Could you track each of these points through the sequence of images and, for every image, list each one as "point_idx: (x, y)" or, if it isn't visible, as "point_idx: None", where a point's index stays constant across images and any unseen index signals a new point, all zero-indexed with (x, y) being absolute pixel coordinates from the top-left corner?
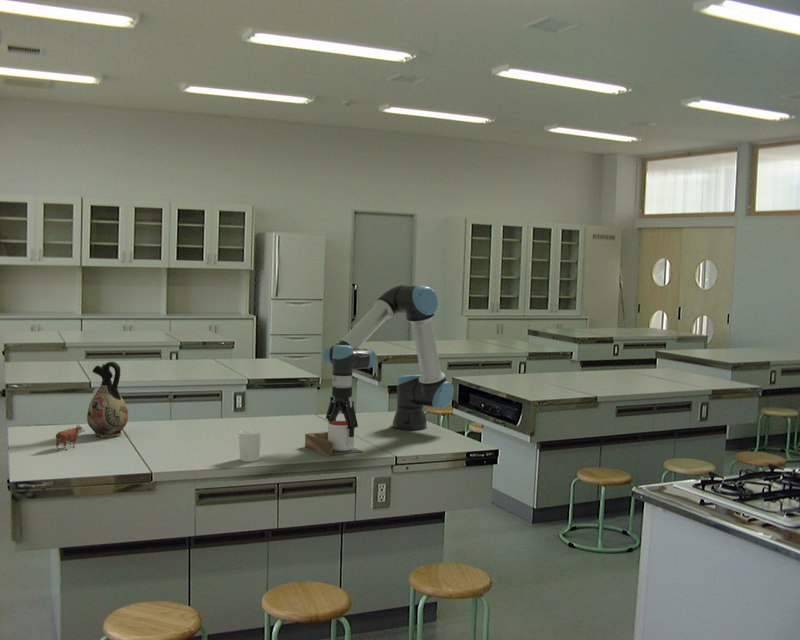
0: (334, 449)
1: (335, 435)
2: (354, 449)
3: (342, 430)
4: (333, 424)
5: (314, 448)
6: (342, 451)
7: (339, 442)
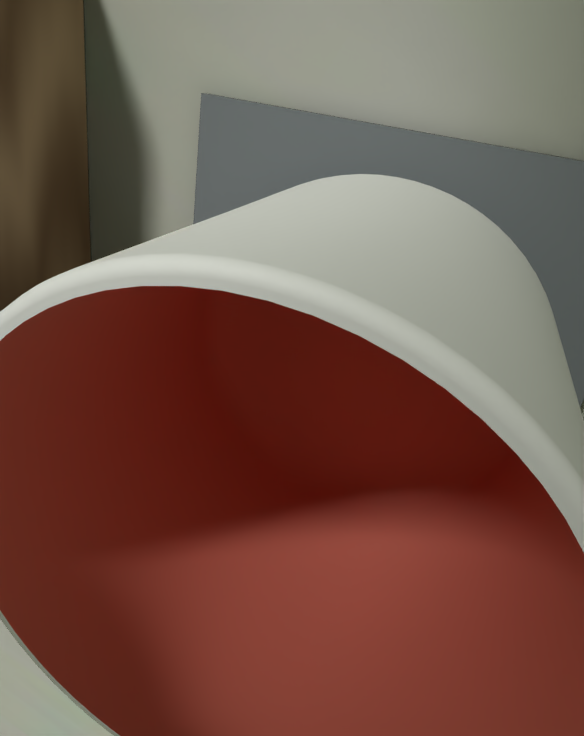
0: (411, 499)
1: (399, 649)
2: (498, 209)
3: (503, 710)
4: (21, 498)
5: None
6: (480, 426)
7: (467, 550)
